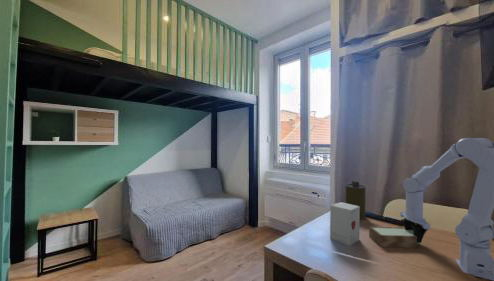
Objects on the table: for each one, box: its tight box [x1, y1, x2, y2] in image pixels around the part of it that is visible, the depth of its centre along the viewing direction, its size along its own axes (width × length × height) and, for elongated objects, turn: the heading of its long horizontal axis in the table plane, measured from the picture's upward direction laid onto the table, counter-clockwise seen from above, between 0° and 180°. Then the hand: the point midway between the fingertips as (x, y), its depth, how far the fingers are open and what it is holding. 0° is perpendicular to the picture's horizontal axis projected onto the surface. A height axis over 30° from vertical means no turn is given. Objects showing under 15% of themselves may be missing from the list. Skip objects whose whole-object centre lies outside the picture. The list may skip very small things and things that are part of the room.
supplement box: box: [329, 201, 360, 246], centre depth 94 cm, size 9×9×15 cm
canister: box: [344, 180, 367, 221], centre depth 124 cm, size 11×10×20 cm
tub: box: [368, 226, 418, 249], centre depth 91 cm, size 14×9×5 cm, turn 87°
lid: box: [373, 228, 421, 245], centre depth 91 cm, size 16×7×4 cm, turn 87°
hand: (414, 239), depth 91 cm, fingers closed on lid, 4 cm apart
